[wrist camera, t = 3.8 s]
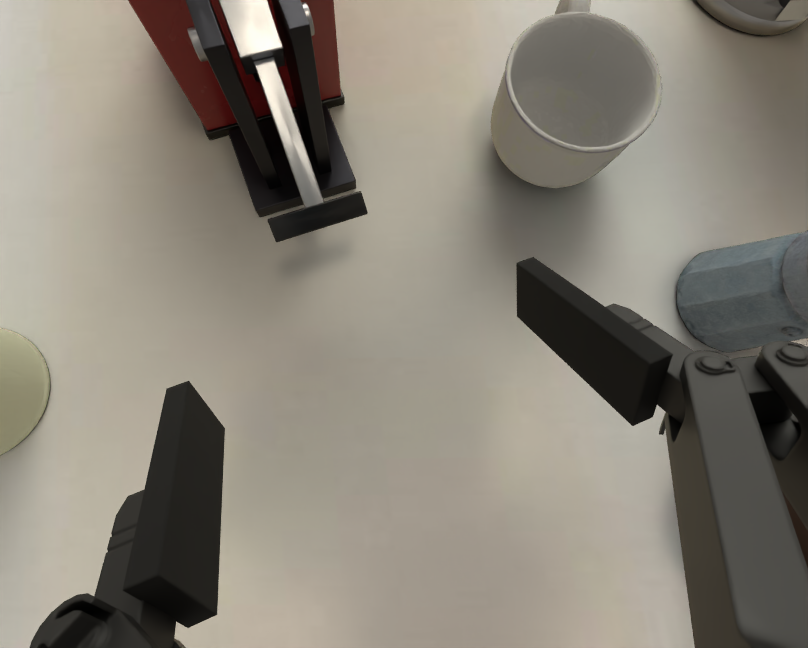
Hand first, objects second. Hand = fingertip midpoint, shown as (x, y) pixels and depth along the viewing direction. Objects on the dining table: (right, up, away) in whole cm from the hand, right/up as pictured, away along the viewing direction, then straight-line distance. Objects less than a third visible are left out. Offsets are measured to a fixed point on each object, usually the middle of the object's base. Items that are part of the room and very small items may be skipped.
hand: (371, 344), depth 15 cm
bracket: (-8, +14, +16) cm, 23 cm away
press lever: (-5, +12, +7) cm, 15 cm away
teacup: (+13, +18, +19) cm, 29 cm away
